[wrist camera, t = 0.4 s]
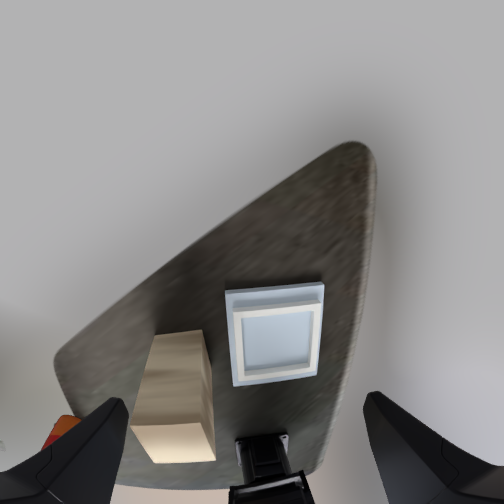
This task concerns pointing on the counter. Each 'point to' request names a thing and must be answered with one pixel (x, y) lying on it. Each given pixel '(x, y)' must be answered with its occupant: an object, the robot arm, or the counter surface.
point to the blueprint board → (274, 332)
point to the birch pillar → (176, 400)
